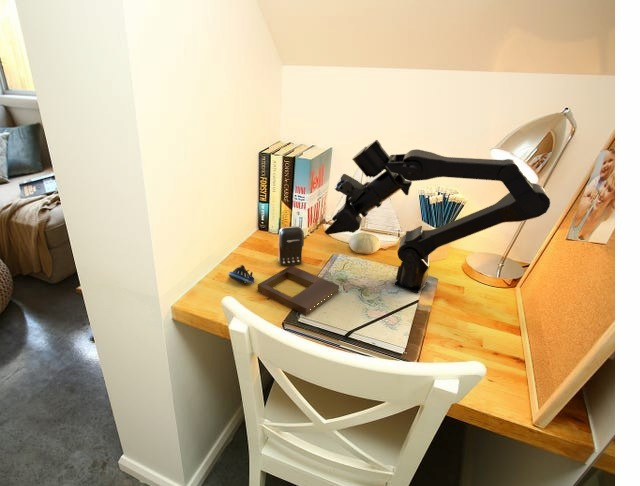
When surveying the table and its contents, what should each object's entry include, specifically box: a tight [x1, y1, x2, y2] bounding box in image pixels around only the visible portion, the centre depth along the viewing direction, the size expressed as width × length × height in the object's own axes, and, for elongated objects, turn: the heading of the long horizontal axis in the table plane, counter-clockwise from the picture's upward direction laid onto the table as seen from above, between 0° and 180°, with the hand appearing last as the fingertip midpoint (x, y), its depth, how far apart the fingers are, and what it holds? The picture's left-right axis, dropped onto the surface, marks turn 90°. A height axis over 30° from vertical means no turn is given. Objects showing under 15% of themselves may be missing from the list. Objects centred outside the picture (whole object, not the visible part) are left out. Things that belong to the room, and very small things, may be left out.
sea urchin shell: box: [348, 232, 381, 255], centre depth 123 cm, size 9×8×8 cm
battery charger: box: [278, 225, 305, 267], centre depth 115 cm, size 7×4×11 cm, turn 97°
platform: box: [257, 265, 340, 317], centre depth 104 cm, size 16×14×2 cm
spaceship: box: [227, 264, 255, 285], centre depth 110 cm, size 7×6×5 cm
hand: (329, 226), depth 107 cm, fingers open, 9 cm apart
